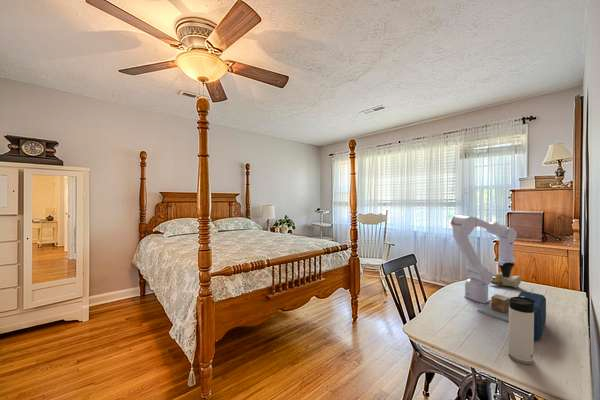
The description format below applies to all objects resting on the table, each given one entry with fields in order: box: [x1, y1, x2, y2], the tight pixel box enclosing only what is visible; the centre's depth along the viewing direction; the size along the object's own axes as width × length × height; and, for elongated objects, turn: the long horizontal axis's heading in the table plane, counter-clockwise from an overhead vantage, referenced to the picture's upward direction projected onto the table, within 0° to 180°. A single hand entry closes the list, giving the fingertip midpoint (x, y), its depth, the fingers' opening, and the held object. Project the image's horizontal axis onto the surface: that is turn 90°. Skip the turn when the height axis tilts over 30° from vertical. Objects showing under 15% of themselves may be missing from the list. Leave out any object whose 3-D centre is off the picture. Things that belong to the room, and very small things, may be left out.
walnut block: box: [490, 293, 510, 314], centre depth 118 cm, size 5×5×6 cm
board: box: [477, 302, 509, 323], centre depth 118 cm, size 12×14×1 cm
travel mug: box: [508, 296, 535, 365], centre depth 86 cm, size 6×7×20 cm
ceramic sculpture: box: [490, 272, 522, 289], centre depth 151 cm, size 11×9×15 cm
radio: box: [517, 290, 547, 341], centre depth 104 cm, size 21×9×20 cm, turn 132°
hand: (506, 276), depth 134 cm, fingers closed
